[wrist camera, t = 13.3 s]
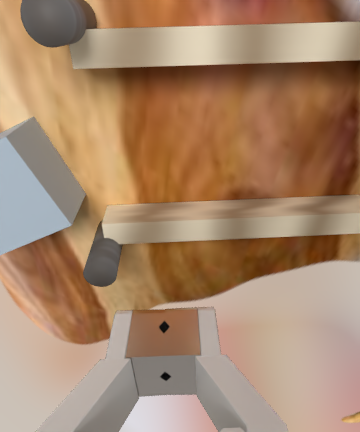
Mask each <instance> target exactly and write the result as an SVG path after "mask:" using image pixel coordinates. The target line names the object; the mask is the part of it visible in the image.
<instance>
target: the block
mask: <svg viewBox="0 0 360 432" xmlns="http://www.w3.org/2000/svg"><path fill="white" fill-rule="evenodd" d="M85 195H86V193H85V192H84V190H83V189H82V187H81V186H80V184H79V183H78V181H77V180H76V178H75V177H74V175H73V174H72V172H71V171H70V169H69V168H68V166H67V165H66V163H65V162H64V161H63V159H62V158H61V156H60V155H59V153H58V152H57V150H56V149H55V147H54V146H53V144H52V143H51V141H50V140H49V138H48V137H47V135H46V134H45V132H44V131H43V129H42V128H41V126H40V125H39V123H38V122H37V120H36V119H35V117H32V118H30V119H28V120H26V121H24V122H22V123H20V124H18V125H16V126H14V127H12V128H10V129H8V130H6V131H4V132H2V133H0V255H2V254H4V253H6V252H9V251H11V250H14V249H16V248H19V247H21V246H23V245H26V244H28V243H31V242H33V241H35V240H38V239H40V238H43V237H45V236H47V235H50V234H52V233H55V232H57V231H59V230H62V229H64V228H67V227H69V226H71V225H72V224H73V222H74V219H75V217H76V215H77V213H78V211H79V208H80V206H81V204H82V202H83V200H84V197H85Z"/></svg>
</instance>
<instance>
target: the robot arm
mask: <svg viewBox="0 0 360 432" xmlns="http://www.w3.org/2000/svg"><path fill="white" fill-rule="evenodd" d="M185 394H188V395H192V394H197V397H198V399H199V400H200V402H201V404H202V405H203V407H204V409H205V410H206V412H207V414H208V415H209V417H210V418H211V420H212V422H213V423H214V425H215V427H216V429H217V430H218V432H288V429H287V425H286V424H285V423H284V422H283V420H282V419H281V418H280V417H279V416H278V415H277V413H276V412H275V411H274V410H273V409H272V408H271V406H270V405H269V404H268V403H267V402H266V400H265V399H264V398H263V397H262V396H261V395H260V393H259V392H258V391H257V390H256V389H255V388H254V386H253V385H252V384H251V383H250V382H249V381H248V379H247V378H246V377H245V376H244V375H243V374H242V372H241V371H240V370H239V369H238V368H237V367H236V366H235V364H233V362H232V361H231V360H230V359H229V357H228V356H227V355H221V350H220V344H219V335H218V329H217V321H216V313H215V309H214V307H199V308H196V307H195V308H176V309H165V310H120V311H117V312H116V313H115V315H114V320H113V325H112V330H111V334H110V339H109V344H108V348H107V354H106V358H105V359H101V360H99V361H98V363H97V364H96V365H95V366H94V367H93V368H92V369H91V370H90V371H89V373H88V374H87V375H86V376H85V377H84V378H83V379H82V380H81V382H80V383H79V384H78V385H77V386H76V387H75V388H74V389H73V390H72V391H71V393H70V394H69V395H68V396H67V397H66V398H65V399H64V400H63V401H62V403H61V404H60V405H59V406H58V407H57V408H56V409H55V410H54V411H53V413H52V414H51V415H50V416H49V417H48V418H47V419H46V420H45V422H44V423H43V424H42V425H41V426H40V427H39V428H38V429H37V430H36V431H35V432H119V430H120V429H121V427H122V425H123V424H124V422H125V420H126V419H127V417H128V415H129V414H130V412H131V411H132V409H133V407H134V406H135V404H136V403H137V401H138V399H139V396H155V395H185Z"/></svg>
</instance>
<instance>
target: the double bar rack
mask: <svg viewBox="0 0 360 432" xmlns="http://www.w3.org/2000/svg"><path fill="white" fill-rule="evenodd" d="M21 19H22V22H23V25H24V27H25V29H26V31H27V32H28V34H29V35H30V36H31V37H32V38H33V39H34V40H35V41H36V42H38V43H39V44H41V45H43V46H46V47H59V46H64V45H69V48H70V53H71V59H72V64H73V69H89V68H122V67H154V66H187V65H220V64H252V63H285V62H317V61H350V60H360V21H359V22H323V23H287V24H250V25H214V26H177V27H141V28H104V29H96V17H95V13H94V11H93V9H92V8H91V6H90V5H89V4H88V3H87V2H86V1H84V0H22V4H21ZM357 233H360V195H339V196H316V197H292V198H268V199H244V200H220V201H196V202H172V203H149V204H125V205H107V209H106V212H105V215H104V218H103V220H102V221H101V222H100V223H99V225H98V228H97V231H96V234H95V238H94V241H93V244H92V247H91V250H90V253H89V256H88V259H87V262H86V265H85V268H84V272H83V274H84V278H85V279H86V281H87V282H89V283H90V284H92V285H94V286H99V287H104V286H108V285H111V284H112V283H113V282H114V281H115V280H116V276H117V271H118V266H119V260H120V255H121V250H122V244H136V243H158V242H180V241H202V240H225V239H247V238H269V237H291V236H313V235H335V234H357Z"/></svg>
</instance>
